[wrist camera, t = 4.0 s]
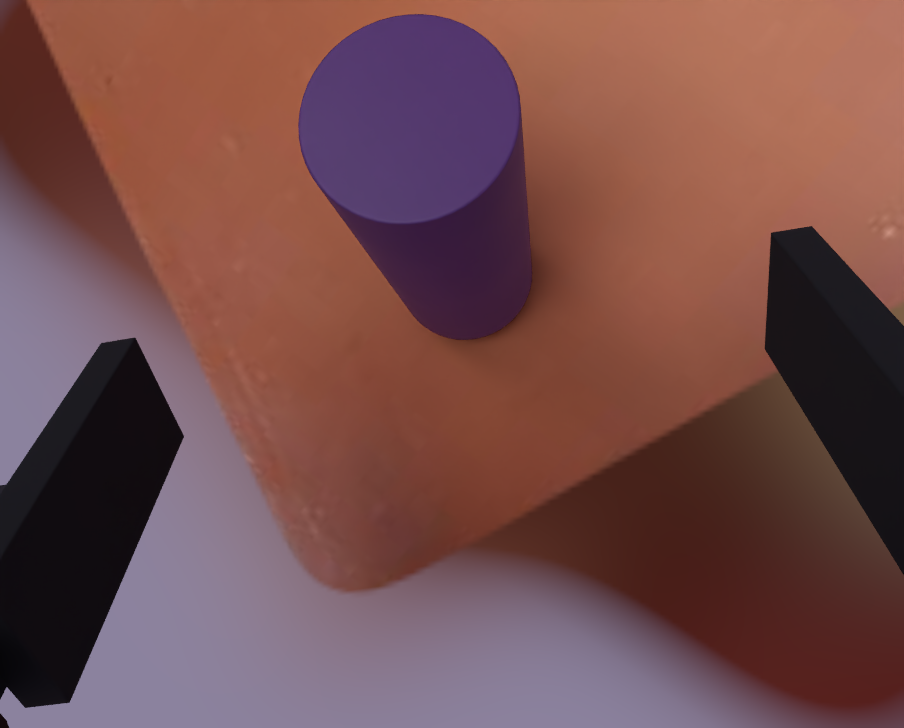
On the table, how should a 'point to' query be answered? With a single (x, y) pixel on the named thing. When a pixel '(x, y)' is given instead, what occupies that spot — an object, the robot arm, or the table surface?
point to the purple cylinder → (426, 167)
